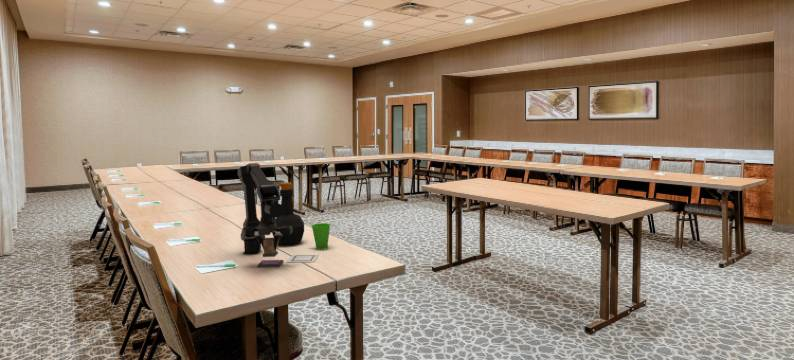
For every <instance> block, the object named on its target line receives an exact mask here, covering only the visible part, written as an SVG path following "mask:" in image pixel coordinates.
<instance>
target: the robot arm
mask: <svg viewBox="0 0 794 360" xmlns="http://www.w3.org/2000/svg"><path fill="white" fill-rule="evenodd" d="M237 177H238V178H239V182H240V183H241V185H242V187H243V192H244V193H243V194H244V205H245V219H244V222H243V223H242V228H241V233H240V239H241V241H243V243H244V245H243V247H244V248H243V249H244V252H243V254H244V255H257V254H259V253H260V252H261V251H262V250H263V251H264V244H263V240H264V239H265V238H266V236H270V235H271V234H272V233H276V235H274V237H273V238H274V239H275V240H274V250H275V251H277V248H278V246H279V245H278V243H279V240H280V238H281V236H283V235H290V234H291V233H292V232H293V227H292V226H282V227H281V228H276V227H277V226H276V218H277V217H280V216H281V215H282V214H283V207H282V205H281V203H279V201H281V196H280V190H279V189H278V187H277V185H276V184H275V183H274V182H273V181H272V180H269V179H267V176H266V175H265V173H264V172H263V170H262V169H261V165H260V163H258V162H255V163H254V162H253V163H250V162H249V163H247V164H246V165H244V166H240V167H239V168H238V169H237ZM255 185H256V188H255ZM255 190H256V191H255ZM256 194H257V197H258V200H259V202H260V219H259V218H258V216H257V215H258V214H257V213H258V212H257V205H256V203H257V202H256V201H257V200H256Z"/></svg>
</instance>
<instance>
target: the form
mask: <svg viewBox="0 0 794 360" xmlns="http://www.w3.org/2000/svg"><path fill="white" fill-rule="evenodd" d="M319 256H320V254H292V255H291V256H290V257H289V258H288V260H287V261H286V263H290V264H292V263H293V264H294V263H295V264H296V263H300V264H301V263H316V261H317V260H318V258H319Z"/></svg>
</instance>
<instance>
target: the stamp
mask: <svg viewBox="0 0 794 360" xmlns="http://www.w3.org/2000/svg"><path fill="white" fill-rule="evenodd" d="M274 240H275V239H274V237H265V239H264V240H263V244H264V250H263V254H262V258H275V257H276V256H277V255H279V252H278V250H276V251H275V250H274Z"/></svg>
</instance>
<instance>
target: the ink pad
mask: <svg viewBox="0 0 794 360" xmlns="http://www.w3.org/2000/svg"><path fill="white" fill-rule="evenodd" d="M282 264H284V259H262V260H261V261H260V262H258V264H257V268H280V267H281V266H282Z"/></svg>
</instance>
